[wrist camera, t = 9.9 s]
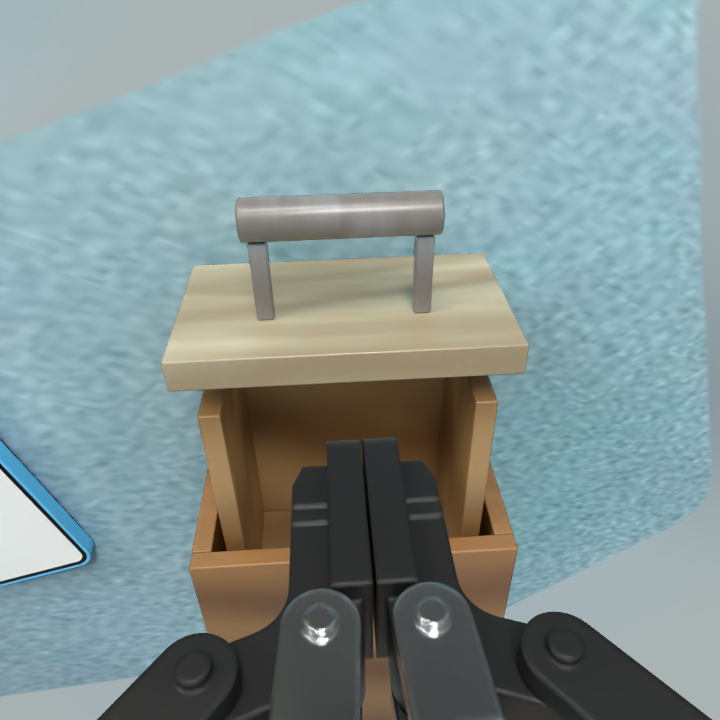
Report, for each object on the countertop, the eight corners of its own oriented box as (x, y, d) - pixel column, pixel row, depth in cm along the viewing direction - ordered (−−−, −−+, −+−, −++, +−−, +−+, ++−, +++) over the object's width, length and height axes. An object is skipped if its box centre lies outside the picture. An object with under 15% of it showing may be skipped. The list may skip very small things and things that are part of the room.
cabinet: (215, 423, 32) (188, 569, 25) (473, 410, 32) (518, 548, 25) (252, 605, 41) (239, 749, 34) (453, 592, 41) (481, 731, 34)
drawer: (173, 159, 23) (128, 237, 17) (495, 147, 23) (551, 220, 18) (239, 507, 34) (225, 622, 28) (458, 494, 34) (485, 605, 29)
